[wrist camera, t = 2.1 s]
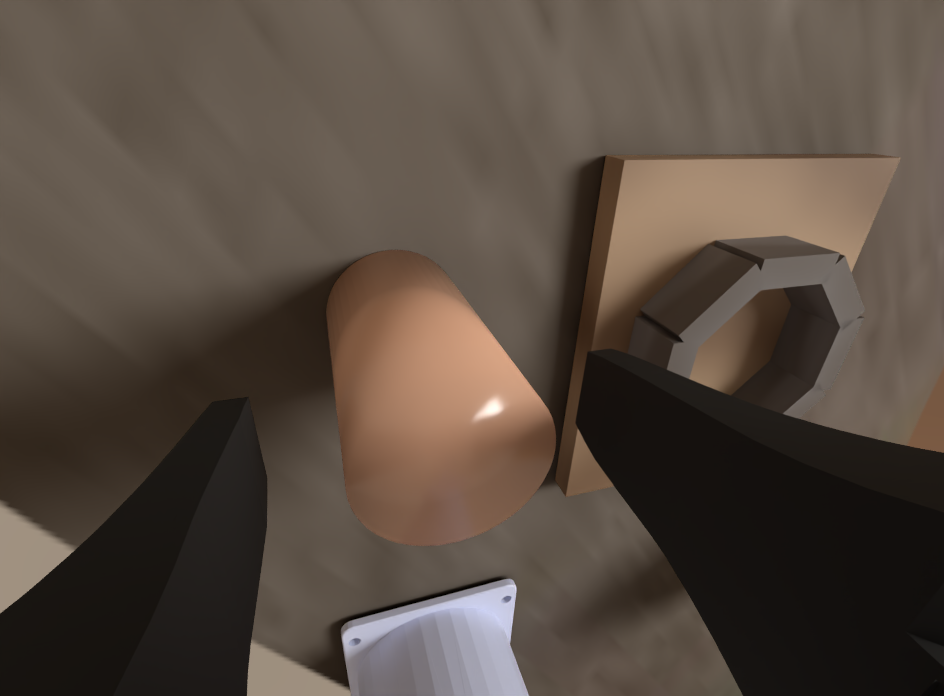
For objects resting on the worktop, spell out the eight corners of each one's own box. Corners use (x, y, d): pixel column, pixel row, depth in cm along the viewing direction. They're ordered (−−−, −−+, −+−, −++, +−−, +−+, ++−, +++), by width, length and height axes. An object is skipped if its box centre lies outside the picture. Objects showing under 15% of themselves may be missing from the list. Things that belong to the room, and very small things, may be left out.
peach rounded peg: (456, 361, 16) (544, 521, 10) (333, 377, 15) (355, 566, 9) (458, 246, 14) (568, 361, 8) (318, 254, 13) (333, 393, 7)
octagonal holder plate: (757, 436, 24) (811, 479, 21) (555, 480, 21) (590, 535, 18) (872, 153, 17) (968, 166, 15) (605, 155, 14) (670, 171, 12)
